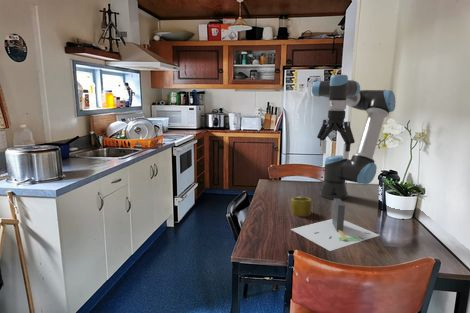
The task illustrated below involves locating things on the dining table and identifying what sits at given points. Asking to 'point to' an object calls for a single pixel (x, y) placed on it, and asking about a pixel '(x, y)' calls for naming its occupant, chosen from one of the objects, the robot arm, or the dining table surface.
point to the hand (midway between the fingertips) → (333, 156)
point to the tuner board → (334, 234)
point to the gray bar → (338, 216)
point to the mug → (301, 206)
